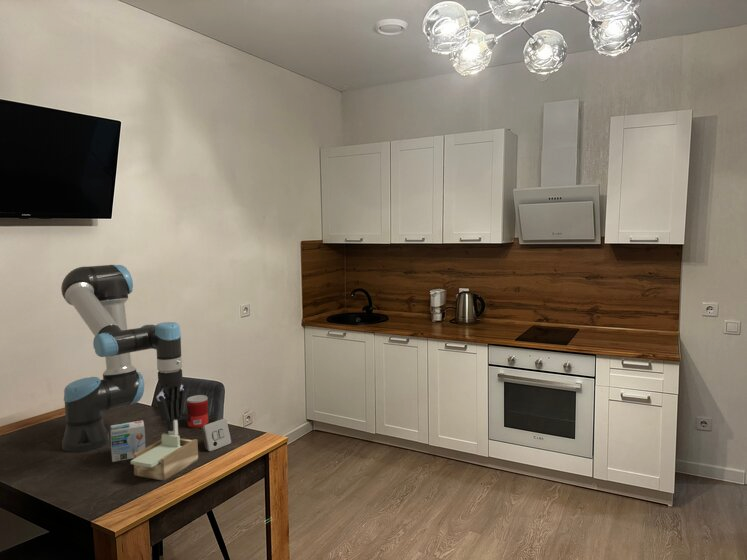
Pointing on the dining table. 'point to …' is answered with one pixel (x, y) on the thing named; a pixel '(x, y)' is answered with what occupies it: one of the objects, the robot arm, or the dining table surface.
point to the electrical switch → (216, 434)
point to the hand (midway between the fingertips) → (173, 438)
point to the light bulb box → (127, 440)
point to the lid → (158, 451)
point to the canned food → (197, 411)
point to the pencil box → (168, 460)
